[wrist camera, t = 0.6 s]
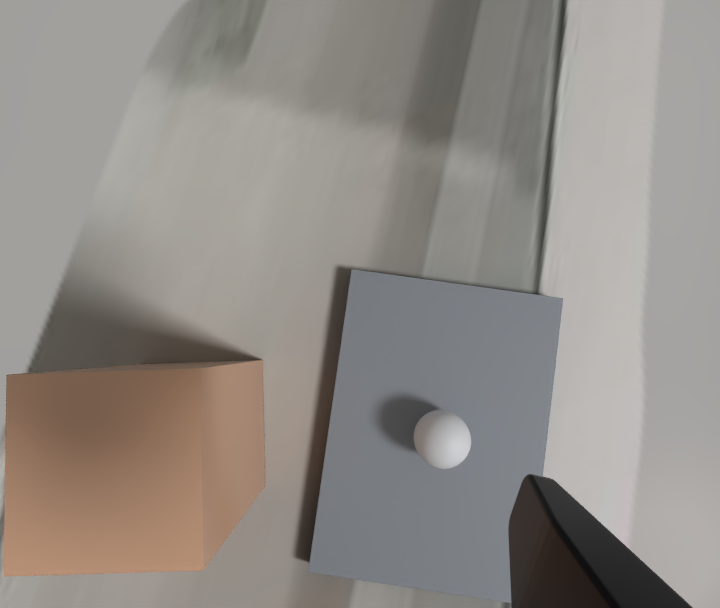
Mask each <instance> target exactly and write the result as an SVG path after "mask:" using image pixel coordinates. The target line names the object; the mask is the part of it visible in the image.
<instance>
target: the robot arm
mask: <svg viewBox="0 0 720 608" xmlns="http://www.w3.org/2000/svg"><path fill="white" fill-rule="evenodd" d="M508 537H509V560H510V582H511V605H512V608H692V607H691V606H690V605H689V604H688V603H687V602H686V601H685V600H684V599H683V598H682V597H680V596H679V595H678V594H677V593H676V592H675V591H674V590H673V589H672V588H671V587H670V586H669V585H667V584H666V583H665V582H664V581H663V580H662V579H661V578H660V577H659V576H658V575H657V574H655V573H654V572H653V571H652V570H651V569H650V568H649V567H648V566H647V565H646V564H645V563H644V562H642V561H641V560H640V559H639V558H638V557H637V556H636V555H635V554H634V553H633V552H632V551H631V550H629V549H628V548H627V547H626V546H625V545H624V544H623V543H622V542H621V541H620V540H619V539H617V538H616V537H615V536H614V535H613V534H612V533H611V532H610V531H609V530H608V529H607V528H606V527H604V526H603V525H602V524H601V523H600V522H599V521H598V520H597V519H596V518H595V517H594V516H592V515H591V514H590V513H589V512H588V511H587V510H586V509H585V508H584V507H583V506H582V505H581V504H579V503H578V502H577V501H576V500H575V499H574V498H573V497H572V496H571V495H570V494H569V493H567V492H566V491H565V490H564V489H563V488H562V487H561V486H560V485H559V484H558V483H557V482H556V481H554V480H553V479H550V478H547V477H542V476H538V475H533V474H528V475H526V476H525V477H524V479H523V481H522V483H521V486H520V489H519V492H518V495H517V497H516V500H515V503H514V506H513V509H512V512H511V515H510V519H509V526H508Z"/></svg>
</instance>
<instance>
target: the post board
mask: <svg viewBox="0 0 720 608" xmlns="http://www.w3.org/2000/svg"><path fill="white" fill-rule="evenodd" d="M562 303H563V298H556V297H549V296H542V295H535V294H527V293H520V292H513V291H506V290H498V289H491V288H484V287H477V286H470V285H462V284H455V283H448V282H441V281H433V280H426V279H419V278H412V277H405V276H397V275H390V274H383V273H376V272H368V271H361V270H354V269H352V270H351V277H350V284H349V291H348V298H347V305H346V312H345V319H344V326H343V333H342V340H341V347H340V354H339V361H338V368H337V375H336V382H335V388H334V395H333V402H332V409H331V416H330V423H329V430H328V437H327V444H326V451H325V458H324V465H323V472H322V479H321V486H320V493H319V500H318V507H317V514H316V521H315V528H314V535H313V542H312V549H311V556H310V563H309V570H308V572H311V573H318V574H324V575H331V576H338V577H344V578H351V579H357V580H364V581H370V582H377V583H383V584H390V585H397V586H403V587H410V588H416V589H423V590H429V591H436V592H442V593H449V594H456V595H462V596H469V597H475V598H482V599H488V600H495V601H501V602H508V603H511V582H510V560H509V537H508V526H509V519H510V515H511V512H512V509H513V506H514V503H515V500H516V497H517V495H518V492H519V489H520V486H521V483H522V481H523V479H524V477H525V476H526V475H528V474H533V475H538V476H542V477H543V468H544V459H545V451H546V442H547V433H548V425H549V416H550V407H551V399H552V390H553V381H554V373H555V364H556V355H557V347H558V338H559V329H560V321H561V312H562Z"/></svg>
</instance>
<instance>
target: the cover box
mask: <svg viewBox="0 0 720 608" xmlns="http://www.w3.org/2000/svg"><path fill="white" fill-rule="evenodd" d="M264 487H265V445H264V397H263V360H247V361H218V362H188V363H159V364H135V365H123V366H111V367H98V368H86V369H73V370H61V371H49V372H36V373H24V374H12V375H7V391H6V461H5V533H4V576H35V575H69V574H104V573H138V572H172V571H203V570H204V569H205V568H206V566H207V565H208V564H209V562H210V561H211V559H212V558H213V557H214V555H215V554H216V553H217V551H218V550H219V549H220V547H221V546H222V544H223V543H224V542H225V540H226V539H227V538H228V536H229V535H230V534H231V532H232V531H233V529H234V528H235V527H236V525H237V524H238V523H239V521H240V520H241V519H242V517H243V516H244V514H245V513H246V512H247V510H248V509H249V508H250V506H251V505H252V504H253V502H254V501H255V499H256V498H257V497H258V495H259V494H260V493H261V491H262V490H263V489H264Z"/></svg>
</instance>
